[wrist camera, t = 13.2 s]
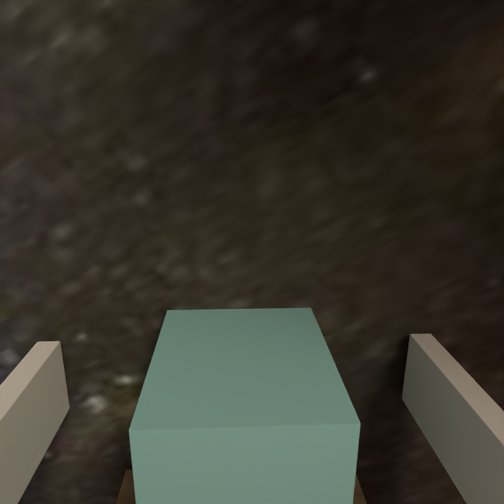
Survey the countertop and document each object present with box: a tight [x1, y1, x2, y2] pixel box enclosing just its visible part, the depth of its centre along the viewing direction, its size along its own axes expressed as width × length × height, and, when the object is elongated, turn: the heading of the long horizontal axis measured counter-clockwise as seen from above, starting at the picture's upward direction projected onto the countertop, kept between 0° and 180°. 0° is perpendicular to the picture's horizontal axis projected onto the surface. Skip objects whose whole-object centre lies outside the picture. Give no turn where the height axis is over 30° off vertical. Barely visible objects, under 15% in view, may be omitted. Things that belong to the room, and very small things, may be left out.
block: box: [129, 308, 361, 504], centre depth 13 cm, size 5×5×6 cm
